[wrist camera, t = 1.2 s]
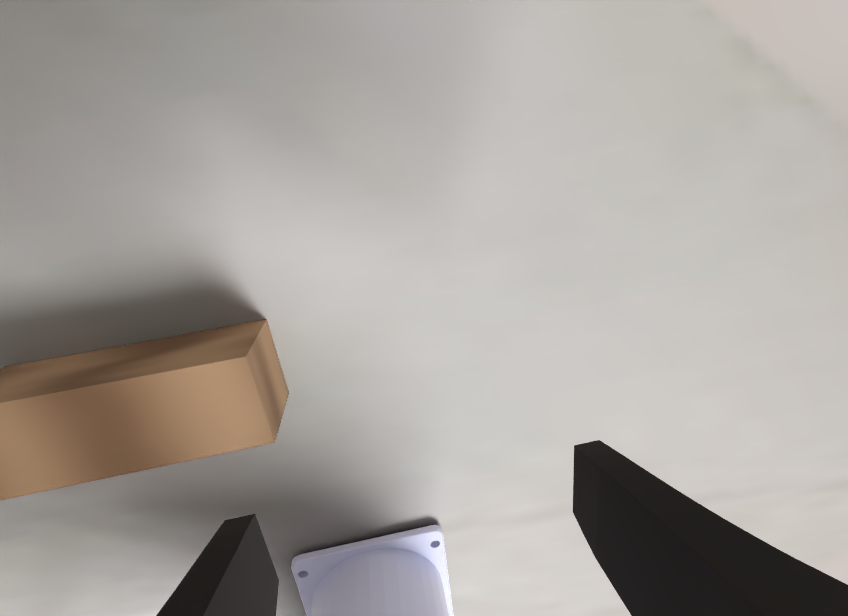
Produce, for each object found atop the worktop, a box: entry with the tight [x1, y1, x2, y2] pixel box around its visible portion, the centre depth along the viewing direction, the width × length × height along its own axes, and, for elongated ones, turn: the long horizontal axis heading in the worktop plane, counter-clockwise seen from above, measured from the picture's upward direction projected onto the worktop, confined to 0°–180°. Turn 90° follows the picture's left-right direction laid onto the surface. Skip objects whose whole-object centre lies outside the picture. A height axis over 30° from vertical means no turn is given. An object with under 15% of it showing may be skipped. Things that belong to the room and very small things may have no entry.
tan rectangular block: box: [0, 319, 289, 500], centre depth 15 cm, size 10×4×4 cm, turn 97°
